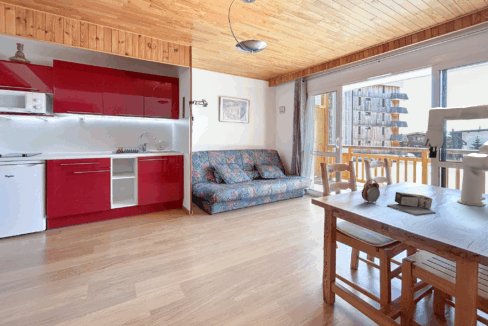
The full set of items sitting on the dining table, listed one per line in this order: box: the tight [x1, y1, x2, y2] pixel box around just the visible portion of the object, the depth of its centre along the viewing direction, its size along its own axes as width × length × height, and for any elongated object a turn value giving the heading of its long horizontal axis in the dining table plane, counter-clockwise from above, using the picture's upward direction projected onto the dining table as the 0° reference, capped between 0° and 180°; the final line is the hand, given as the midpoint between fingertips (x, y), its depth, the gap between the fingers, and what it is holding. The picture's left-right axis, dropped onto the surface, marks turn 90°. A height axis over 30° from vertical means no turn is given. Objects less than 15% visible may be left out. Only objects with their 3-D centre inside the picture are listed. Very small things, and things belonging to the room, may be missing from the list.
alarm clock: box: [361, 179, 381, 203], centre depth 148 cm, size 11×5×15 cm, turn 105°
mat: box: [386, 203, 436, 216], centre depth 135 cm, size 14×18×1 cm
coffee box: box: [394, 191, 434, 210], centre depth 141 cm, size 9×6×16 cm
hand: (432, 157), depth 145 cm, fingers closed
